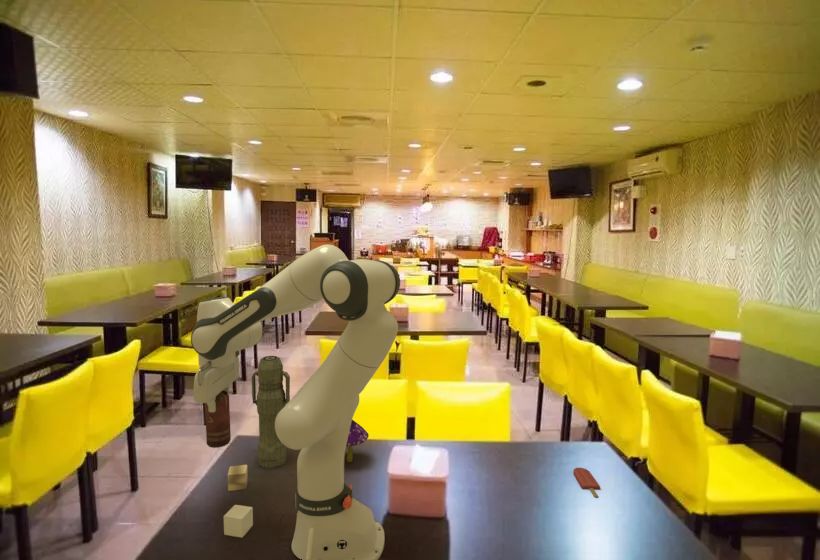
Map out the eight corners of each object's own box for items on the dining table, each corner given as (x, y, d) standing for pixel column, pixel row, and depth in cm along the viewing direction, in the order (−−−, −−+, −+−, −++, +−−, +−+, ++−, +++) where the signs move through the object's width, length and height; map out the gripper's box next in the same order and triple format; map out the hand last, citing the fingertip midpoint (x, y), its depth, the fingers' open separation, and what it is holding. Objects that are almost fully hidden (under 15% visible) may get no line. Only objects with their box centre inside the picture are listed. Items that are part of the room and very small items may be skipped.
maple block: (247, 480, 141) (247, 464, 141) (246, 489, 136) (245, 473, 136) (230, 482, 140) (229, 466, 139) (228, 491, 135) (227, 475, 135)
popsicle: (587, 493, 134) (570, 466, 149) (587, 499, 134) (570, 471, 149) (606, 494, 134) (587, 467, 149) (605, 499, 134) (587, 472, 149)
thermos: (289, 468, 148) (287, 361, 144) (251, 469, 147) (248, 362, 143) (293, 454, 157) (291, 353, 153) (257, 456, 156) (254, 354, 152)
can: (222, 449, 123) (220, 398, 122) (201, 446, 125) (199, 396, 123) (236, 439, 129) (234, 390, 128) (215, 437, 131) (213, 388, 129)
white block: (253, 525, 120) (252, 507, 120) (242, 537, 115) (241, 519, 115) (235, 522, 121) (234, 504, 121) (224, 535, 116) (223, 516, 116)
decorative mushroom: (328, 455, 157) (328, 412, 155) (365, 450, 160) (365, 409, 158) (332, 474, 145) (331, 428, 143) (371, 469, 148) (372, 424, 146)
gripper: (210, 368, 114) (212, 422, 116) (242, 347, 134) (244, 393, 136) (185, 368, 114) (187, 422, 116) (220, 346, 134) (222, 393, 136)
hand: (218, 406), depth 126 cm, fingers closed on can, 5 cm apart
